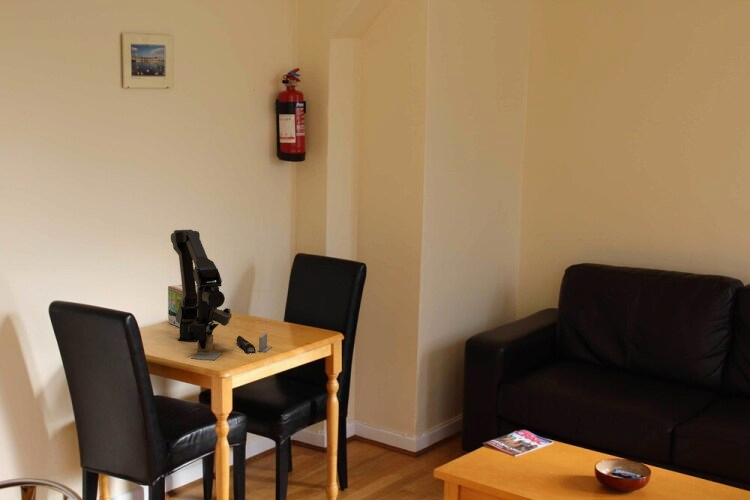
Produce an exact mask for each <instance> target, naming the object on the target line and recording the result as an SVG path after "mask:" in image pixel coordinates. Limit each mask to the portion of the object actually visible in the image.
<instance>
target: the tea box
mask: <svg viewBox="0 0 750 500" xmlns="http://www.w3.org/2000/svg"><path fill="white" fill-rule="evenodd" d="M196 293H197V286H196ZM182 297H183V290H182V284H177V285H176V284H175V285H168V286H167V319H168V320H167V321H168V322H167V323H168V324H171V325H173V326H175V327H178V328H180V324H179V323H178V322H176V314H177V311H178V309H179V303H180V301H181V299H182Z"/></svg>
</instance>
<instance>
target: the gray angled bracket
mask: <svg viewBox="0 0 750 500" xmlns="http://www.w3.org/2000/svg"><path fill="white" fill-rule="evenodd" d="M258 338H259V339H258V350H257V353H268V351H270V350H271V349H272V345H271V346H270V345H268V332H264V333H262V334H261V335H260V336H259V337H258Z"/></svg>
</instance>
